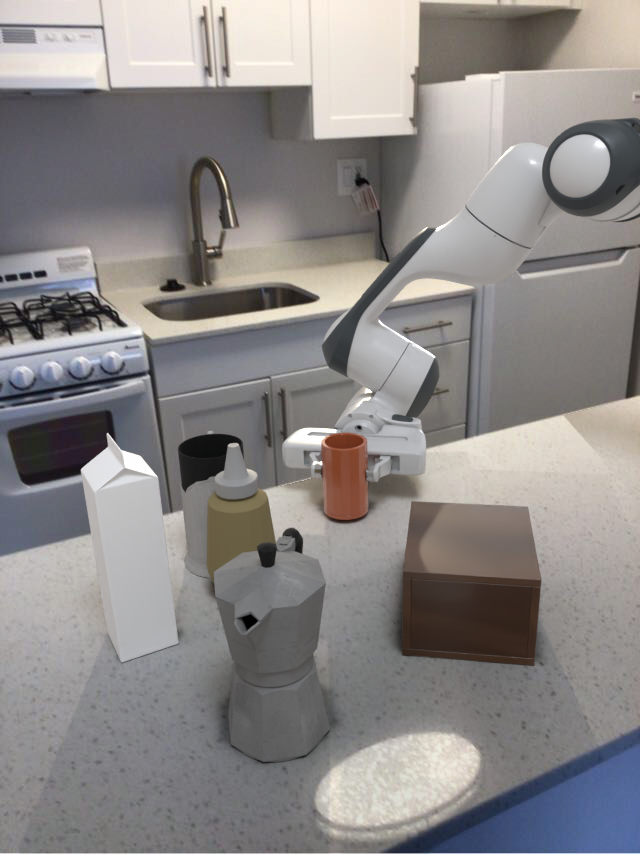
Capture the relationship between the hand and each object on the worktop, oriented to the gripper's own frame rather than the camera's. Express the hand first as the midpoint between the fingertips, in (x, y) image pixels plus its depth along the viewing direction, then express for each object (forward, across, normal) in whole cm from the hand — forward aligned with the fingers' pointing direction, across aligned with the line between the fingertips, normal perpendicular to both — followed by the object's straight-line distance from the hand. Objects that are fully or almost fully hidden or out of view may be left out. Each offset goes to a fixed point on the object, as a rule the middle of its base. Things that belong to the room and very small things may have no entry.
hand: (344, 475), depth 99 cm
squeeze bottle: (+19, -8, +6) cm, 22 cm away
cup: (-1, 0, +6) cm, 6 cm away
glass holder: (+11, -14, +6) cm, 19 cm away
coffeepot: (+38, +2, +6) cm, 38 cm away
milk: (+30, -15, +6) cm, 34 cm away
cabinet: (+19, +17, +6) cm, 27 cm away
